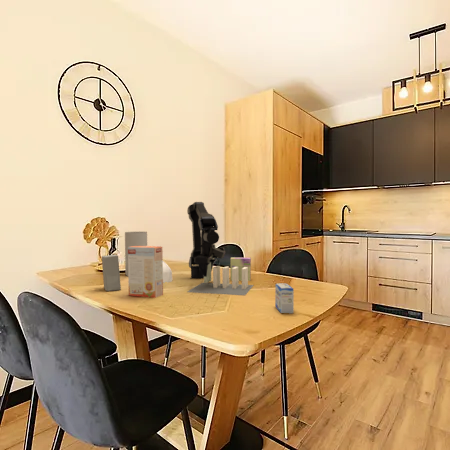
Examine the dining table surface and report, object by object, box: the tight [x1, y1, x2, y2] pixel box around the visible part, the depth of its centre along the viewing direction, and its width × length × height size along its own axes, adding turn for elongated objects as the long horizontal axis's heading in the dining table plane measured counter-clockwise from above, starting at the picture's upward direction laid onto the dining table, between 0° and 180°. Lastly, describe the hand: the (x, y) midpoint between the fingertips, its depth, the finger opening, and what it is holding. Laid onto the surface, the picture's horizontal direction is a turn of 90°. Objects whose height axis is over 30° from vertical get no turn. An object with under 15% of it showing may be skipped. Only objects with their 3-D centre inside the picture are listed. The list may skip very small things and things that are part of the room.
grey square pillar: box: [124, 231, 148, 277], centre depth 178 cm, size 12×12×25 cm
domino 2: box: [212, 265, 221, 288], centre depth 143 cm, size 2×6×9 cm, turn 164°
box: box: [229, 257, 252, 282], centre depth 158 cm, size 10×6×12 cm, turn 84°
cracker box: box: [127, 245, 164, 299], centre depth 128 cm, size 14×6×21 cm, turn 65°
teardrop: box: [163, 260, 173, 284], centre depth 159 cm, size 11×11×12 cm
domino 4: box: [231, 267, 240, 289], centre depth 141 cm, size 2×6×9 cm, turn 164°
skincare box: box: [101, 254, 122, 292], centre depth 141 cm, size 8×7×16 cm
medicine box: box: [274, 282, 295, 314], centre depth 106 cm, size 8×4×9 cm, turn 5°
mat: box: [186, 282, 254, 296], centre depth 138 cm, size 26×20×1 cm
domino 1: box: [203, 263, 212, 283], centre depth 144 cm, size 2×6×9 cm, turn 164°
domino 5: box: [241, 267, 249, 289], centre depth 139 cm, size 2×6×9 cm, turn 164°
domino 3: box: [221, 265, 230, 288], centre depth 142 cm, size 2×6×9 cm, turn 164°
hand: (207, 275), depth 144 cm, fingers closed on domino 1, 6 cm apart
